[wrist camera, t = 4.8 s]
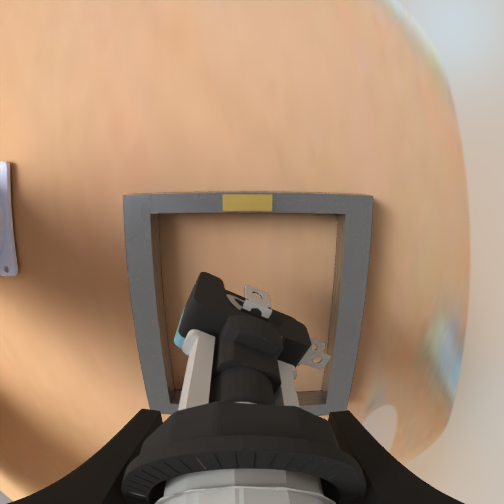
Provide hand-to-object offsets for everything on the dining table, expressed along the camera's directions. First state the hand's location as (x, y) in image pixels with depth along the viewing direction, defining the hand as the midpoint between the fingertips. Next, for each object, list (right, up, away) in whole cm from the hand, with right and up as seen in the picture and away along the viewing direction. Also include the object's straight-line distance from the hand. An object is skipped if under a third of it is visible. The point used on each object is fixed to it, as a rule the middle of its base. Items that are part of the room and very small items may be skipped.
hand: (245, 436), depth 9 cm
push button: (0, +3, +5) cm, 6 cm away
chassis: (0, +2, +10) cm, 10 cm away
